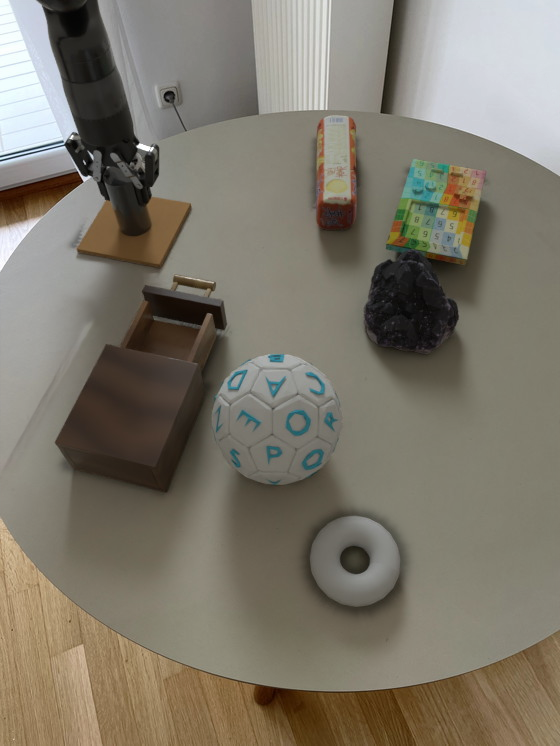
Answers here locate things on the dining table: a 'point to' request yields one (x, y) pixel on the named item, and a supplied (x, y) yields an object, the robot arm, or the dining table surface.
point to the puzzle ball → (276, 419)
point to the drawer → (181, 308)
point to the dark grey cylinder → (126, 203)
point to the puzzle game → (437, 211)
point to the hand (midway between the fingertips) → (127, 199)
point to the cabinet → (133, 417)
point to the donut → (343, 583)
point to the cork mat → (136, 249)
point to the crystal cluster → (409, 305)
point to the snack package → (336, 173)
